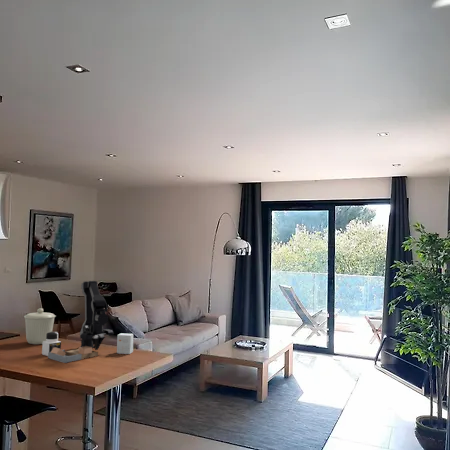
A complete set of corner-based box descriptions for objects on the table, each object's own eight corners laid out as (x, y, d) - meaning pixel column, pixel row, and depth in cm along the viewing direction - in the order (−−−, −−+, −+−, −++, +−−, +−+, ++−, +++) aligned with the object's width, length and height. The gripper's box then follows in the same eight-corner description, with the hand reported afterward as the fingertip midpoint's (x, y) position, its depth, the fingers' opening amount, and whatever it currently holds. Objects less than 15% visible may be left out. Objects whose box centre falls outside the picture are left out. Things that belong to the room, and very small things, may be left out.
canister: (23, 340, 274) (25, 306, 275) (54, 339, 280) (56, 306, 281) (21, 346, 257) (23, 310, 258) (54, 345, 263) (56, 310, 264)
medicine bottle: (48, 356, 235) (50, 334, 236) (41, 354, 239) (42, 332, 240) (60, 354, 241) (61, 332, 242) (53, 352, 245) (54, 330, 246)
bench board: (82, 351, 248) (82, 348, 248) (97, 355, 240) (98, 352, 240) (65, 355, 239) (65, 351, 239) (81, 359, 231) (81, 355, 231)
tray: (64, 355, 239) (64, 349, 240) (81, 359, 231) (81, 353, 231) (48, 358, 231) (48, 352, 232) (65, 363, 223) (65, 357, 223)
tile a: (53, 347, 233) (50, 352, 231) (59, 348, 230) (56, 353, 228) (60, 351, 236) (56, 356, 234) (65, 353, 233) (62, 358, 231)
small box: (133, 352, 252) (133, 333, 252) (130, 354, 246) (130, 335, 247) (119, 351, 253) (120, 333, 253) (116, 353, 247) (117, 334, 248)
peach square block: (86, 351, 241) (86, 346, 241) (91, 352, 238) (92, 347, 238) (78, 353, 237) (78, 347, 237) (84, 354, 234) (84, 348, 234)
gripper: (101, 318, 257) (100, 345, 256) (74, 321, 241) (73, 350, 240) (114, 320, 250) (113, 348, 249) (87, 324, 235) (86, 353, 234)
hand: (96, 349), depth 243 cm, fingers closed
